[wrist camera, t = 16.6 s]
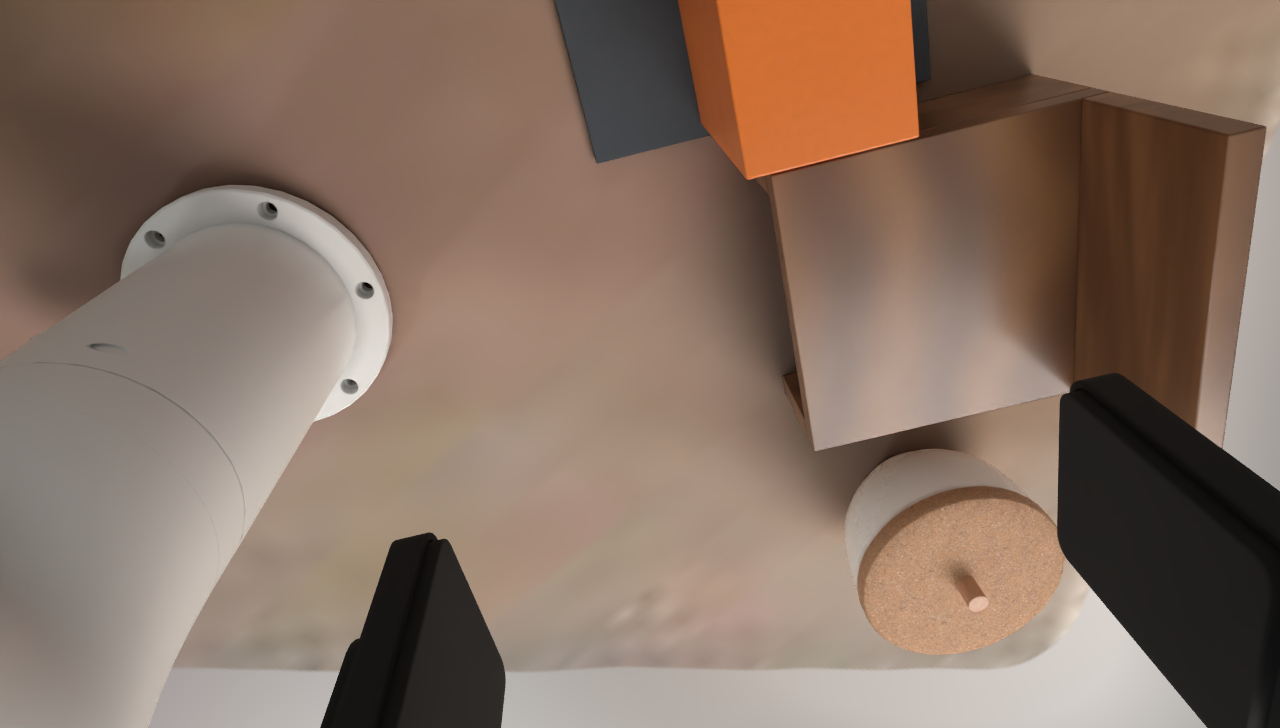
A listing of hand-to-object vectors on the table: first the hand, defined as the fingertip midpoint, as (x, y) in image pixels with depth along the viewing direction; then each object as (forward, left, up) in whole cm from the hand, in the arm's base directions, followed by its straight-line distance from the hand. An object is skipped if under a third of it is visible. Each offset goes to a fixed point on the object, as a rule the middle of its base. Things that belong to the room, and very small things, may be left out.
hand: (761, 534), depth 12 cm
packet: (+6, +5, -28) cm, 29 cm away
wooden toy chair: (+12, -8, -28) cm, 32 cm away
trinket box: (+11, -24, -28) cm, 39 cm away
